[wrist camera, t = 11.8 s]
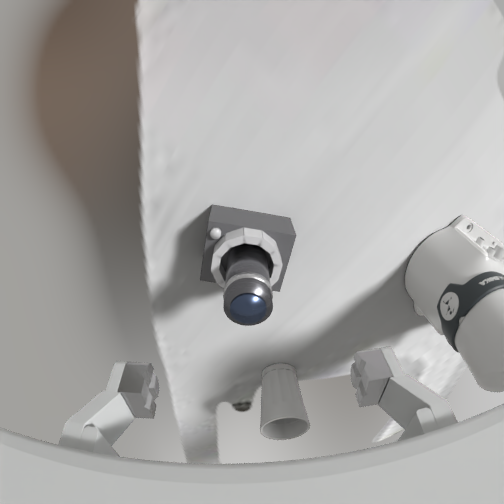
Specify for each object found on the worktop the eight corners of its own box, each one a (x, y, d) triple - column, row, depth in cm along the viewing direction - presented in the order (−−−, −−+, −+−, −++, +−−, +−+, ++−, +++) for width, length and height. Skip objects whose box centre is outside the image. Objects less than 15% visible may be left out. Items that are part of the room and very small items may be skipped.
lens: (245, 232, 36) (245, 279, 28) (276, 257, 38) (284, 307, 30) (217, 261, 38) (211, 312, 30) (248, 283, 40) (250, 336, 31)
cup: (255, 362, 54) (258, 419, 44) (300, 357, 54) (311, 414, 44) (258, 388, 58) (261, 441, 48) (300, 384, 58) (308, 436, 47)
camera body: (290, 217, 41) (298, 243, 35) (274, 274, 45) (279, 305, 39) (212, 204, 40) (206, 228, 34) (203, 263, 44) (197, 294, 38)
